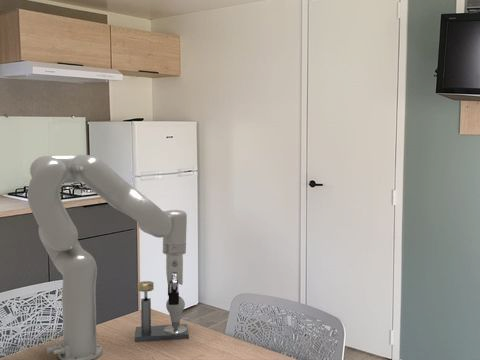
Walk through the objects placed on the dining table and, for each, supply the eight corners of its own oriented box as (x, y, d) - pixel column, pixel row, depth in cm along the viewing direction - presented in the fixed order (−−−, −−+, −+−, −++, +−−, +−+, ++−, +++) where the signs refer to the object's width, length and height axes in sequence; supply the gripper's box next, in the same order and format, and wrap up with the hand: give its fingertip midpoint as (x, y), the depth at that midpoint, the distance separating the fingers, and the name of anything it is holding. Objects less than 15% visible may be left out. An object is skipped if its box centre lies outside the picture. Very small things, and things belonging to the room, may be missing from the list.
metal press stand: (134, 341, 169) (134, 304, 168) (136, 331, 178) (135, 296, 176) (188, 338, 171) (188, 302, 170) (186, 328, 180) (186, 293, 179)
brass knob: (137, 305, 170) (137, 285, 169) (138, 300, 175) (138, 281, 174) (153, 305, 171) (153, 285, 170) (153, 300, 175) (153, 280, 175)
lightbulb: (183, 331, 172) (183, 298, 171) (165, 331, 173) (164, 298, 172) (186, 325, 178) (185, 293, 177) (168, 324, 179) (167, 293, 178)
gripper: (187, 254, 164) (186, 308, 166) (184, 243, 181) (183, 292, 183) (163, 254, 163) (161, 308, 165) (162, 243, 180) (161, 292, 182)
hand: (173, 299), depth 174 cm, fingers open, 9 cm apart
